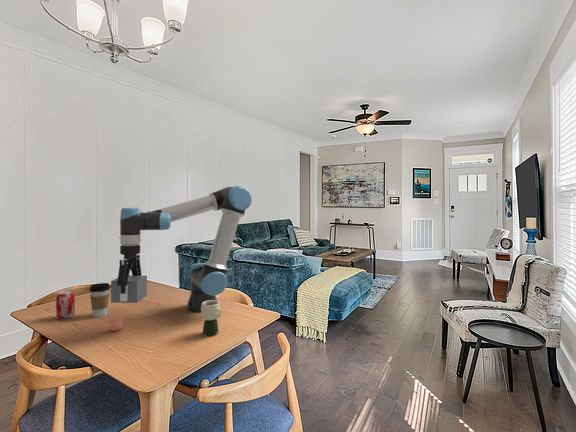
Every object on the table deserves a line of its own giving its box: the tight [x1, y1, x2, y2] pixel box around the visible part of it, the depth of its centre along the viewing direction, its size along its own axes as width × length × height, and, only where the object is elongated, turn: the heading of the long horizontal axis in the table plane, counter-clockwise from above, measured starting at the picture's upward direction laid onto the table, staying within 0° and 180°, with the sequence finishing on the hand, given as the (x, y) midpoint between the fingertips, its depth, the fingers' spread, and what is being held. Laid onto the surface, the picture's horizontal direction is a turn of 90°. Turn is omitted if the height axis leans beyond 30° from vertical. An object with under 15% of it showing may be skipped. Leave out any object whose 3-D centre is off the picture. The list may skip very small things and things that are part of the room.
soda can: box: [55, 290, 76, 321], centre depth 145 cm, size 7×7×12 cm
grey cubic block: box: [110, 274, 148, 304], centre depth 130 cm, size 10×10×9 cm
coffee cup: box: [88, 282, 111, 318], centre depth 148 cm, size 8×8×15 cm
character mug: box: [201, 300, 222, 336], centre depth 129 cm, size 11×7×13 cm, turn 59°
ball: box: [108, 317, 123, 332], centre depth 131 cm, size 5×5×5 cm
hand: (129, 297), depth 131 cm, fingers closed on grey cubic block, 10 cm apart
